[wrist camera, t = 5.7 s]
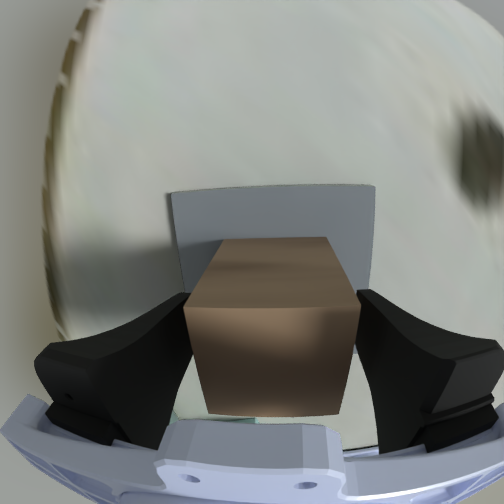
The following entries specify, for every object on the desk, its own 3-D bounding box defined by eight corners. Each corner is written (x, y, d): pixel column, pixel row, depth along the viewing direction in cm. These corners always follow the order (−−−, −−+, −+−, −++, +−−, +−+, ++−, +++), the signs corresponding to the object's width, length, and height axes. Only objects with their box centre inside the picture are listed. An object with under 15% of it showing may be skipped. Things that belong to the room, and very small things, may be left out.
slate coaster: (355, 347, 16) (357, 353, 16) (200, 349, 17) (197, 355, 17) (371, 185, 13) (375, 186, 12) (175, 192, 14) (170, 193, 13)
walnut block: (321, 322, 15) (338, 414, 9) (232, 323, 15) (208, 413, 9) (326, 236, 13) (361, 305, 7) (224, 239, 14) (183, 307, 8)
